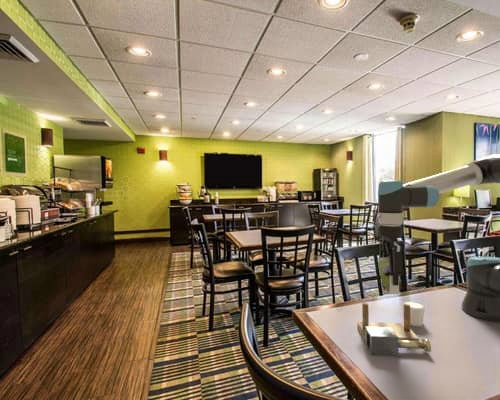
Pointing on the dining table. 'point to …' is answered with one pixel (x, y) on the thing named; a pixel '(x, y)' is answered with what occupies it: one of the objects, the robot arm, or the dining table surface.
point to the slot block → (381, 341)
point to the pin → (415, 344)
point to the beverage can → (386, 273)
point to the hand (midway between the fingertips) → (389, 289)
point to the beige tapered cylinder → (416, 313)
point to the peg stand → (389, 324)
